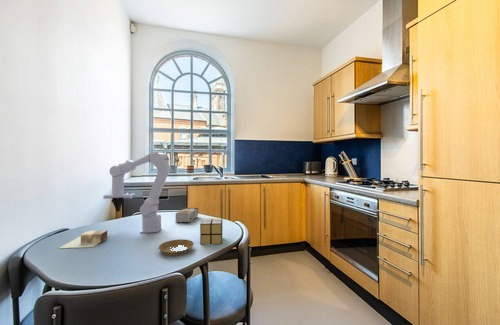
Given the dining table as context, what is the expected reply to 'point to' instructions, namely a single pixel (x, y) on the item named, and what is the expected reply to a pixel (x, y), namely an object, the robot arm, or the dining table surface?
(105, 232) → the birch block
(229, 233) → the dining table surface
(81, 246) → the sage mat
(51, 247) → the dining table surface
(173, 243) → the plant saucer
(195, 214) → the coffee box
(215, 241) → the puzzle cube
